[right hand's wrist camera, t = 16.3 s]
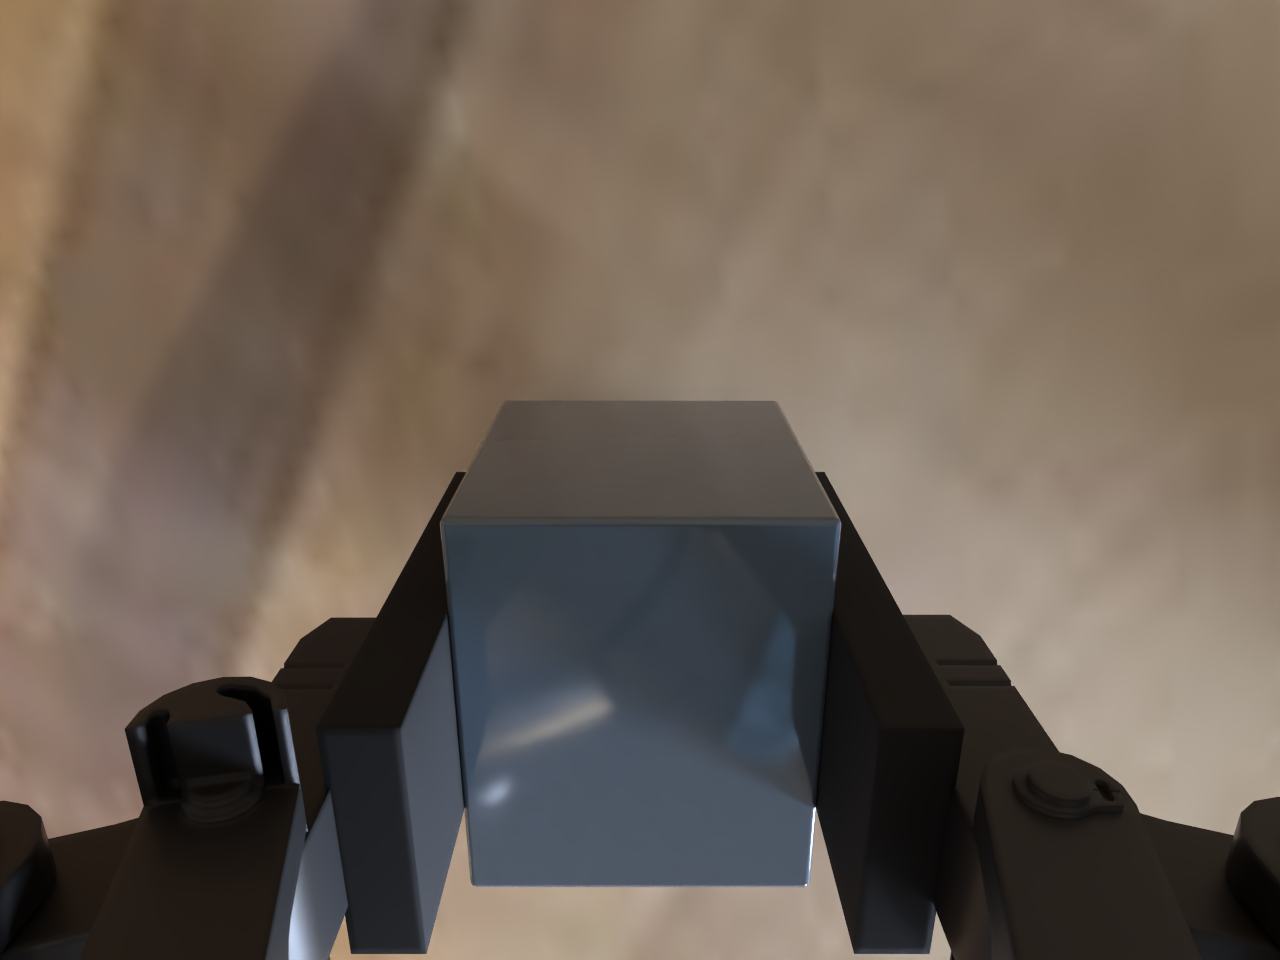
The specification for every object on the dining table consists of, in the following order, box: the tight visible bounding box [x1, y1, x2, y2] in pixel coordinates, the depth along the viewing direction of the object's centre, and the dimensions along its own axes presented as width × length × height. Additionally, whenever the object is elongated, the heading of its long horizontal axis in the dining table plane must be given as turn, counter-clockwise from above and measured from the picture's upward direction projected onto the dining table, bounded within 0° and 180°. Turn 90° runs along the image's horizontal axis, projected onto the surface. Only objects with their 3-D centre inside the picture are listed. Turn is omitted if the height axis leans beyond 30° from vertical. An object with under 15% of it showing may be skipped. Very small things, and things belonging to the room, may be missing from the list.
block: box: [440, 401, 841, 887], centre depth 13 cm, size 5×4×5 cm
